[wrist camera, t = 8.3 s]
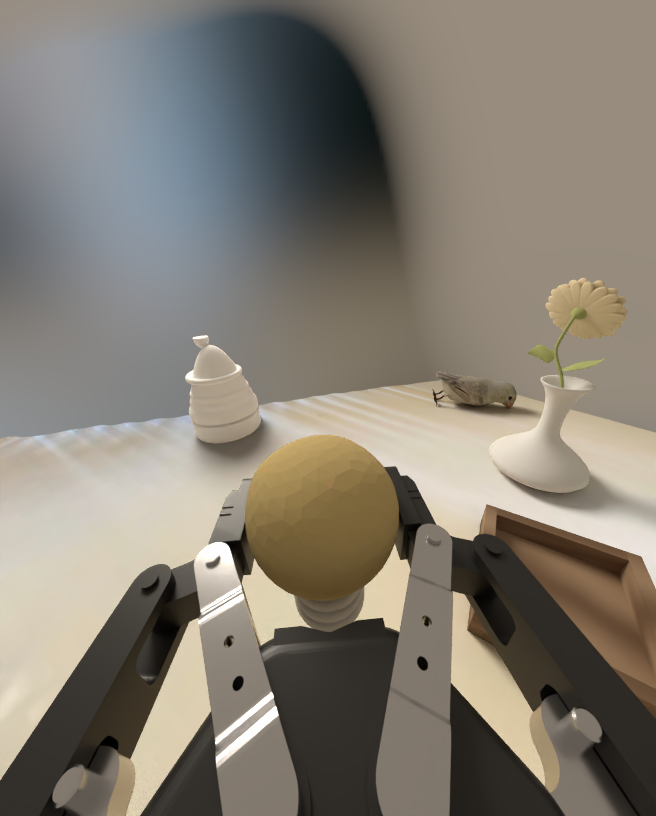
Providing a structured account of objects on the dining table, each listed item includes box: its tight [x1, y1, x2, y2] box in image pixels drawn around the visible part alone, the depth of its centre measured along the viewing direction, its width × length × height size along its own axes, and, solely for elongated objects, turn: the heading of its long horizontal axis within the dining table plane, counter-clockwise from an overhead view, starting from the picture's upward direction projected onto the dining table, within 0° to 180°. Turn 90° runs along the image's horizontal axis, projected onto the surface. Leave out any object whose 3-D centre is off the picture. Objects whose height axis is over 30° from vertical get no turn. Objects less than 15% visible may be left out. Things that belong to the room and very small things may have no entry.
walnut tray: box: [467, 505, 656, 719], centre depth 22 cm, size 12×12×3 cm
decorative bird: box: [432, 371, 516, 408], centre depth 55 cm, size 5×16×8 cm, turn 73°
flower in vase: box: [489, 278, 628, 493], centre depth 32 cm, size 13×11×25 cm
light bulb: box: [245, 435, 399, 632], centre depth 12 cm, size 6×6×10 cm
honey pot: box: [185, 336, 261, 443], centre depth 50 cm, size 13×13×18 cm
